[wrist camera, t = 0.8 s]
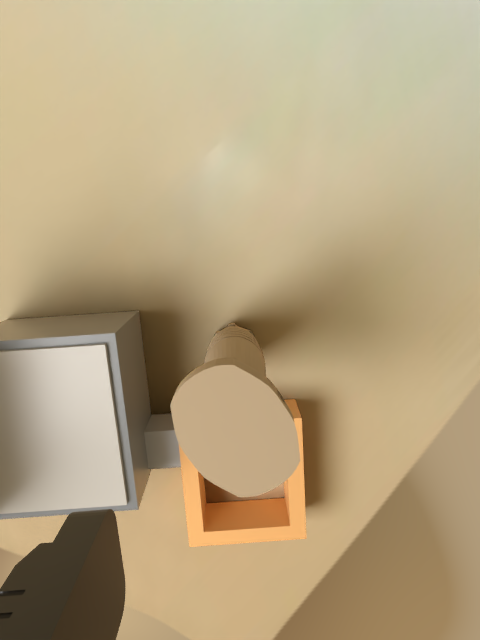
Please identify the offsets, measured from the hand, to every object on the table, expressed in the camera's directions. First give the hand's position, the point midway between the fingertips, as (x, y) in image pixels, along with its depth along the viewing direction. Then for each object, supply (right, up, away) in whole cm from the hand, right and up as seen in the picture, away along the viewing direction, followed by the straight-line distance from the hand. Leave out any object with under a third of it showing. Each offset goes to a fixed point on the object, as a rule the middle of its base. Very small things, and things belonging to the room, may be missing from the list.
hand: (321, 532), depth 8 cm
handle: (-2, +2, +25) cm, 26 cm away
